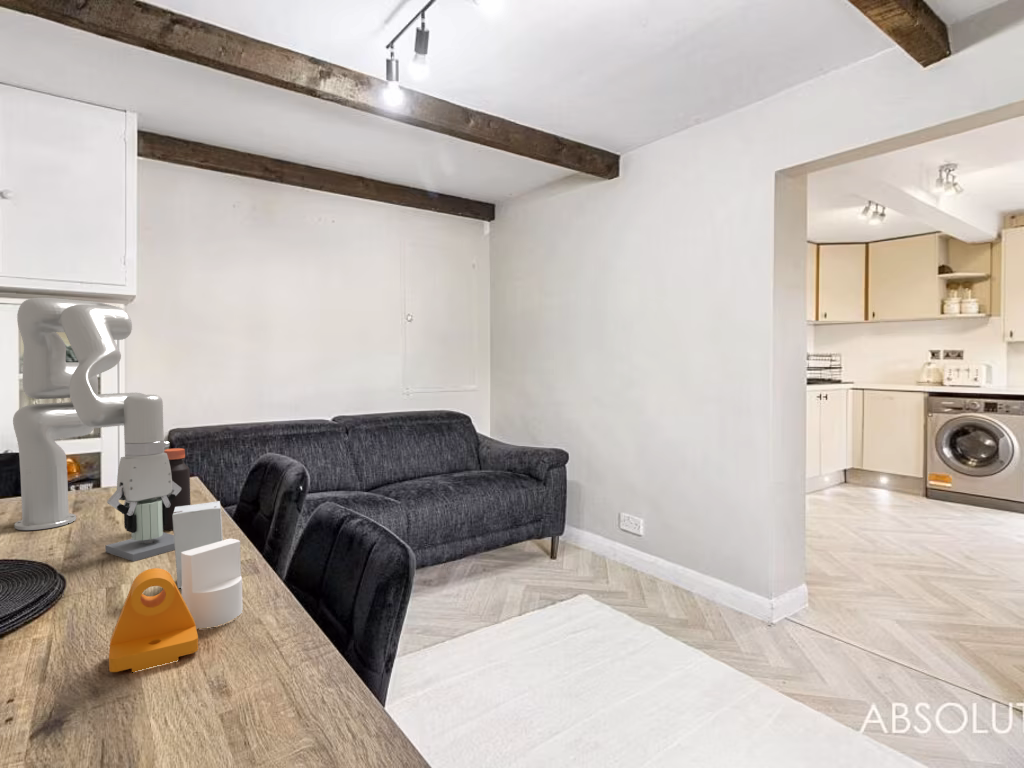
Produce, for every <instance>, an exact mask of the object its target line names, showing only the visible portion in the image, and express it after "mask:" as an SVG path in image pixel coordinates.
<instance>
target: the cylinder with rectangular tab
mask: <svg viewBox="0 0 1024 768" xmlns="http://www.w3.org/2000/svg"><path fill="white" fill-rule="evenodd" d="M241 563H242V562H241V540H239V539H235V538H227V539H223V541H219V542H216V543H212V544H209V545H205V546H201V547H198V548H194V549H191V550H187V551H184V552H181V570H182V587H181V589H180V590H181V595H182V597H183V599H184V601H185V603H186V605H187V607H188V609H189V611H190V613H191V615H192V617H193V619H194V621H195V625H196V628H207V627H214V626H218V625H220V624H224V623H226V622H228V621H230V620H232V619H234V618H236V617H237V616H239V615H240V614H241V613H242V614H243V612H242V610H243V607H244V606H243V577H242V564H241Z"/></svg>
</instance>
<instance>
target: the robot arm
mask: <svg viewBox="0 0 1024 768" xmlns="http://www.w3.org/2000/svg"><path fill="white" fill-rule="evenodd" d="M16 318H17V319H16V320H17V326H18V330H19V333H20V336H21V339H22V343H23V352H22V353H23V354H22V355H23V358H22V389H23V392H24V394H25V395H26V396H27V397H28V398H30V399H35V400H55V399H70V401H69V402H50V403H49V402H47V403H46V402H45V403H35V404H28V405H25V406H22V407H21V408H19V409H18V410H16V412H15V413H14V414H13V417H12V424H13V430H14V432H15V433H14V434H15V438H16V440H17V445H18V447H17V448H18V456H19V457H18V458H19V472H20V474H19V475H20V494H21V495H20V496H21V498H20V499H21V517H22V518H21V519H20V520H18V521H16V522H15V523H14V529H16V530H19V531H39V530H46V529H51V528H57V527H58V528H59V527H61V526H65V525H69V524H71V523H73V521H74V522H75V521H76V520H77V515H76V514H75V513H70V512H69V511H70V510H69V487H68V464H67V463H68V462H67V461H68V459H67V455H66V452H65V451H64V450H63V448H62V447H61V446H60V445H59V444H58V443H57V441H55V440H60V439H67V438H77V437H82V436H83V437H84V436H87V435H89V434H91V433H92V432H93V431H94V430H95V429H99V428H100V429H101V428H111V427H112V428H113V427H120V426H121V427H123V431H124V432H123V436H124V438H123V439H124V456H122V457H120V458H119V459H120V460H119V463H118V464H119V465H118V469H117V475H116V477H117V478H116V490H115V492H113V494H112V495H111V496H110V497H109V498H108V499H107V502H106V503H107V504H108V505H109V506H111V507H112V508H114V509H116V510H117V511H118V512H119V513H121V514H122V515H123V517H124V518H123V520H124V521H123V522H124V523H123V524H124V529H125V530H126V532H128V533H135V532H136V531H137V523H136V515H134V510H135V507H136V504H137V502H138V501H144V500H149V499H153V498H159V499H162V515H163V525H167V520H168V507H170V505H171V502H172V501H173V500H174V499H175V497H176V495H177V494H178V493H179V492H180V491H181V487H180V486H178V485H177V484H176V483H175V482H173V481H172V476H171V468H170V463H169V459H168V456H167V453H164V451H165V450H166V448H169V447H170V442H169V441H165V438H164V405H163V404H164V402H163V399H162V397H161V396H160V395H157V394H144V393H142V392H117V393H115V392H114V393H99V378H98V375H100V374H102V373H104V372H107V371H109V370H111V369H112V368H114V367H116V366H117V365H118V364H119V362H120V361H121V359H122V353H121V351H120V349H119V347H118V345H117V344H116V341H122V340H126V339H127V338H128V337H129V336H130V335H131V333H132V330H133V323H132V319H131V317H130V315H129V313H128V312H127V311H126V310H124V308H122V307H120V306H116V305H111V304H107V303H103V302H100V301H92V300H82V299H81V300H80V299H67V298H59V297H32V298H28V299H26V300H23V302H22V303H20V305H19V307H18V310H17V316H16ZM58 333H64V334H65V336H66V339H67V340H68V343H69V345H70V347H71V349H72V351H73V354H74V356H75V358H76V360H77V361H76V362H75V361H74V362H73V361H72V362H71V361H70V362H68V361H67V360H66V355H67V346H66V344H65V341H64V340H63V338H61V336H60V335H59V334H58ZM120 501H124V503H123V504H122V503H121V502H120ZM68 523H69V524H68Z"/></svg>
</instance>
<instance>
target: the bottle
mask: <svg viewBox="0 0 1024 768" xmlns="http://www.w3.org/2000/svg"><path fill="white" fill-rule="evenodd" d="M185 450H186V449H185V448H180V447H178V448H176V447H175V448H167V449H166V448H165V451H164V453H167V456H168V459H169V463H170V468H171V476H172V481H173V482H175V483H176V484H177V485H178V486H180V487H181V491H180V492H179V493H178V494H177V495H176V497H175V499H174V500H173V501H172V502H171V505H170V507H168V520H167V525H163V531H174V530H173V517H172V515H173V512H174V509H175V507H179V506H187V505H192V504H191V478H190V473H191V472H190V471H191V470H190V467H189V466H188V465H187V464H186V463H185V460H186V451H185Z"/></svg>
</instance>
